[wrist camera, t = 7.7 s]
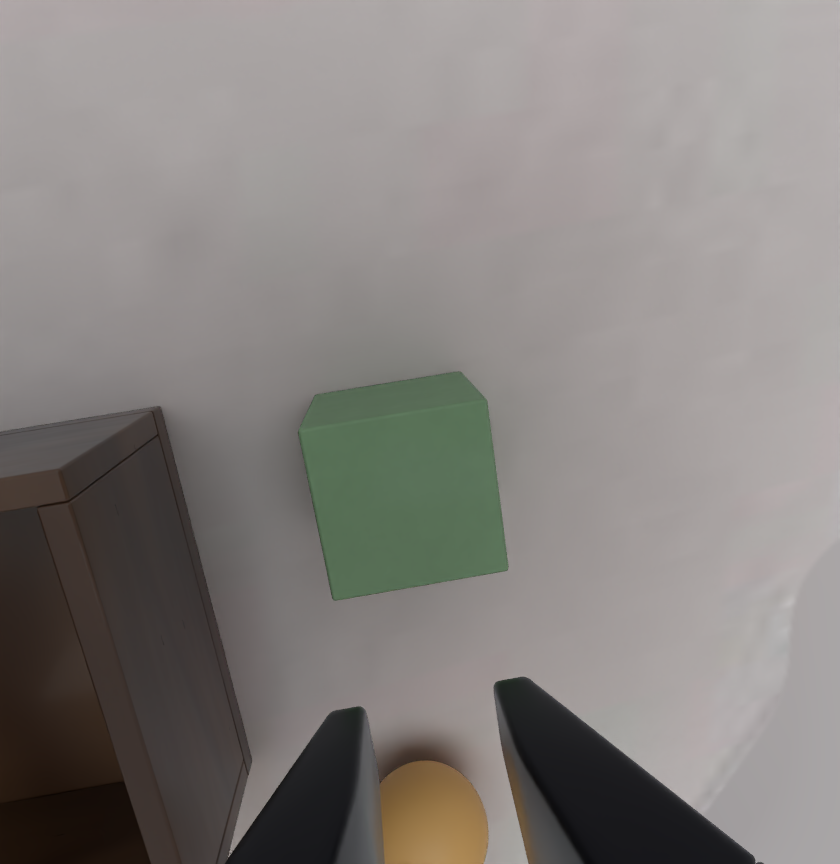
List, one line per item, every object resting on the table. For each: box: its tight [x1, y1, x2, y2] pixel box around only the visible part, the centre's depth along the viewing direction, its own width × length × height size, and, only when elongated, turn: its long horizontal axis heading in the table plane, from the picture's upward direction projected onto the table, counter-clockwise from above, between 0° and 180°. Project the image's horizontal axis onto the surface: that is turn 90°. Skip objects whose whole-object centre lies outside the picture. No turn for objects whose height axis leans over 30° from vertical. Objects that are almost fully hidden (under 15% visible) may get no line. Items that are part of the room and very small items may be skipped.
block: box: [298, 372, 508, 601], centre depth 17 cm, size 4×4×4 cm
